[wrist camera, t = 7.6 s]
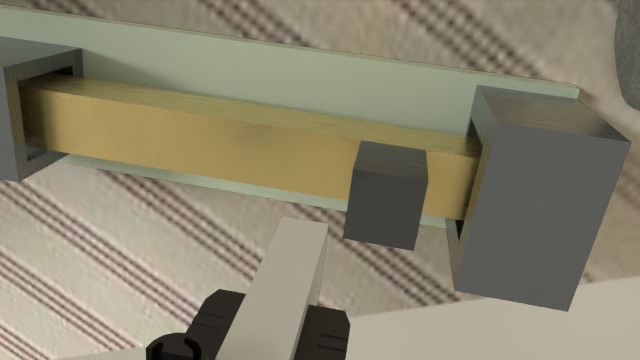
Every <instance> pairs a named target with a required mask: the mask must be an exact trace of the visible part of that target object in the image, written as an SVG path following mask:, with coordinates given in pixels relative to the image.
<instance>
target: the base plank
mask: <svg viewBox="0 0 640 360" xmlns="http://www.w3.org/2000/svg"><path fill="white" fill-rule="evenodd" d="M0 36H4V37H11V38H17V39H24V40H31V41H38V42H45V43H51V44H58V45H65V46H72V47H79V48H82V58H83V72H84V78H90V79H96V80H103V81H109V82H116V83H122V84H129V85H135V86H142V87H148V88H155V89H161V90H168V91H174V92H181V93H187V94H194V95H200V96H207V97H213V98H220V99H226V100H233V101H239V102H246V103H252V104H259V105H265V106H272V107H278V108H285V109H292V110H298V111H305V112H311V113H318V114H324V115H331V116H337V117H344V118H350V119H357V120H363V121H370V122H376V123H383V124H389V125H396V126H402V127H409V128H415V129H422V130H428V131H435V132H441V133H448V134H454V135H461V136H465V134H466V129H467V125H468V121H469V117H470V112H471V108H472V104H473V100H474V95H475V91H476V87H477V85H483V86H490V87H497V88H504V89H511V90H518V91H525V92H532V93H539V94H546V95H553V96H560V97H567V98H574V99H577V98H578V95H579V92H580V89H579V88H578V87H576V86H575V85H574V84H568V83H561V82H554V81H547V80H539V79H532V78H525V77H518V76H511V75H504V74H497V73H489V72H482V71H475V70H468V69H461V68H454V67H446V66H439V65H432V64H425V63H418V62H411V61H404V60H396V59H389V58H382V57H375V56H368V55H361V54H353V53H346V52H339V51H332V50H325V49H318V48H310V47H303V46H296V45H289V44H282V43H275V42H268V41H260V40H253V39H246V38H239V37H232V36H225V35H217V34H210V33H203V32H196V31H189V30H182V29H174V28H167V27H160V26H153V25H146V24H139V23H132V22H124V21H117V20H110V19H103V18H96V17H89V16H81V15H74V14H67V13H60V12H53V11H46V10H39V9H31V8H24V7H17V6H10V5H3V4H0ZM57 162H63V163H69V164H74V165H80V166H86V167H92V168H98V169H103V170H109V171H115V172H121V173H126V174H132V175H138V176H144V177H150V178H155V179H161V180H167V181H173V182H178V183H184V184H190V185H196V186H202V187H207V188H213V189H219V190H225V191H230V192H236V193H242V194H248V195H254V196H259V197H265V198H271V199H277V200H282V201H288V202H294V203H300V204H306V205H311V206H317V207H323V208H329V209H334V210H340V211H346V212H347V206H348V201H345V200H340V199H334V198H328V197H322V196H316V195H310V194H304V193H299V192H293V191H287V190H281V189H275V188H269V187H264V186H258V185H252V184H246V183H240V182H234V181H228V180H223V179H217V178H211V177H205V176H199V175H193V174H187V173H182V172H176V171H170V170H164V169H158V168H152V167H146V166H141V165H135V164H129V163H123V162H117V161H111V160H105V159H100V158H94V157H88V156H82V155H76V154H69V155H67V156H65V157H63V158H62V159H60V160H58V161H57ZM445 219H446V218H445V217H439V216H433V215H427V214H421V219H420V224H421V225H427V226H433V227H438V228H444V229H446V225H445Z"/></svg>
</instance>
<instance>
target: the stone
mask: <svg viewBox="0 0 640 360" xmlns="http://www.w3.org/2000/svg"><path fill="white" fill-rule="evenodd" d="M615 56H616V66H617V75H618V79H619V83H620V87H621V92H622V96H623V98H624V99H625V101H626V102H627V104H628V105H630V106H631V107H632V108H634V109H637V110H640V0H621V3H620V7H619V12H618V17H617V23H616V31H615Z"/></svg>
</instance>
